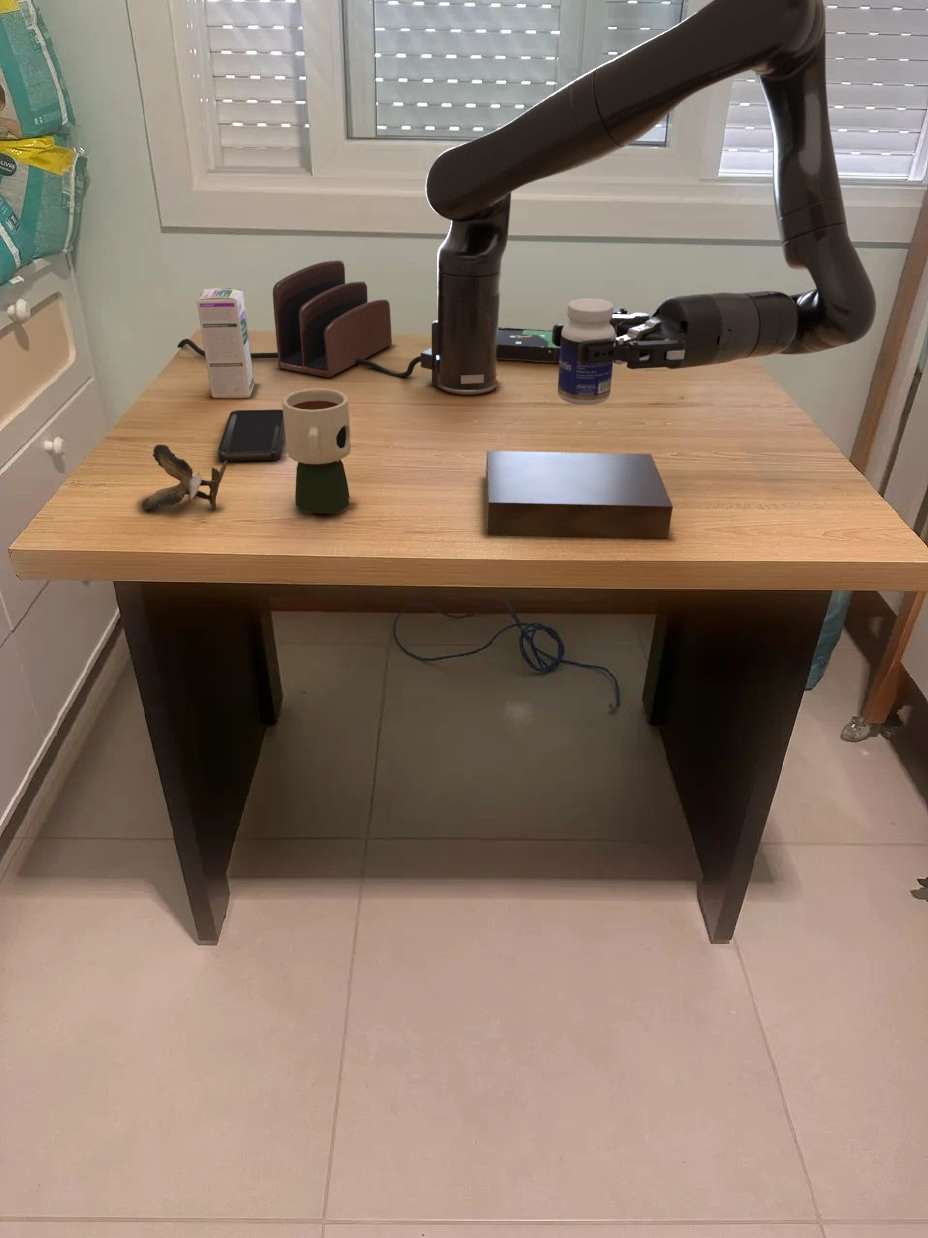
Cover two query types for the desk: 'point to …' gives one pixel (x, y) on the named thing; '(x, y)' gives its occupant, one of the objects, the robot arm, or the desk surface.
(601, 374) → the pill bottle
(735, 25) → the robot arm
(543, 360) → the disk drive
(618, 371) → the desk surface
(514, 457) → the walnut stand
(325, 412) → the character mug
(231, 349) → the syrup box
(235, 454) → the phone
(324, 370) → the letter holder
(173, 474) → the eagle figurine
